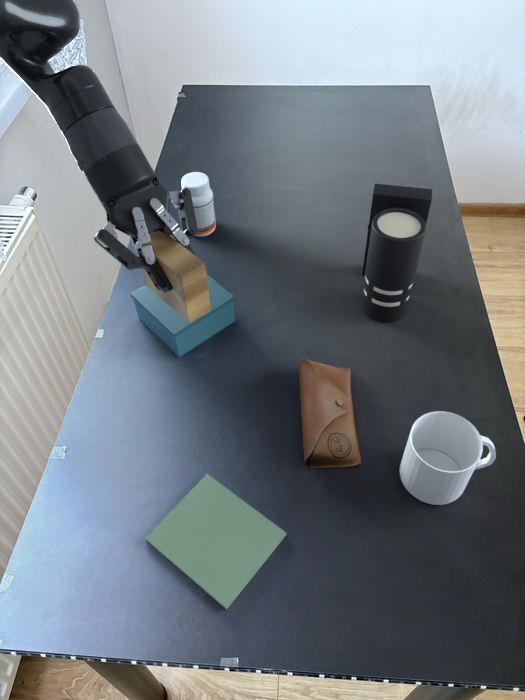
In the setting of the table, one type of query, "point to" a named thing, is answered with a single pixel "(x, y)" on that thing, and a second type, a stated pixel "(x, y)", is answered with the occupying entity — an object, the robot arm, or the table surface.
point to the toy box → (174, 327)
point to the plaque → (180, 277)
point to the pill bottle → (201, 201)
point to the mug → (442, 457)
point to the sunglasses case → (327, 416)
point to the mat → (216, 540)
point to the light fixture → (393, 249)
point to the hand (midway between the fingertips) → (182, 282)
